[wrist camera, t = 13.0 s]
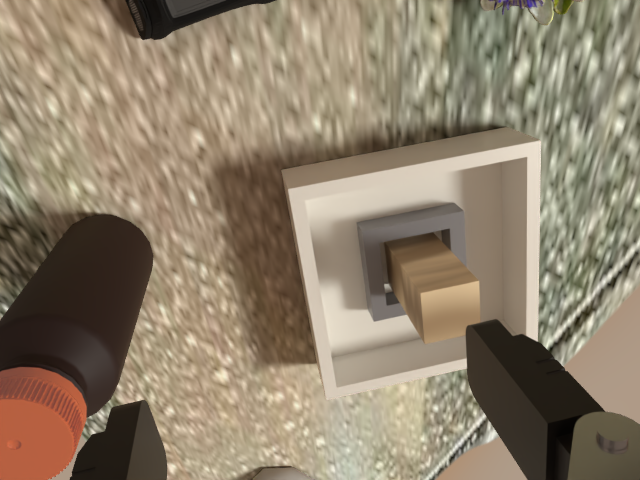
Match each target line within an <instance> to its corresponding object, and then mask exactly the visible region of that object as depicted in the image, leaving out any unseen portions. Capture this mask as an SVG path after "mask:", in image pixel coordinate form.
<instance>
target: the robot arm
mask: <svg viewBox="0 0 640 480" xmlns="http://www.w3.org/2000/svg"><path fill="white" fill-rule="evenodd" d="M466 356H467V375H468V381H469V385H470V388H471V391H472V393H473V395H474V397H475V399H476V401H477V402H478V404H479V405H480V407H481V408H482V410H483V412H484V413H485V415H486V416H487V418H488V419H489V421H490V422H491V424H492V425H493V427H494V429H495V430H496V432H497V433H498V435H499V436H500V438H501V439H502V441H503V442H504V444H505V445H506V447H507V449H508V450H509V452H510V453H511V454H512V456H513V458H514V459H515V461H516V462H517V464H518V465H519V467H520V469H521V470H522V472H523V473H524V475H525V476H526V478H527V479H528V480H640V424H638V423H637V422H635V421H634V420H632V419H630V418H628V417H625V416H623V415H620V414H616V413H612V412H605V411H604V410H603V408H602V407H601V406H600V405H599V404H598V403H597V402H596V401H595V400H594V399H593V398H592V397H591V396H590V395H589V394H588V393H587V392H586V390H585V389H584V388H583V387H582V386H581V385H580V384H579V383H578V382H577V381H576V380H575V379H574V378H573V377H572V376H571V375H570V374H569V372H568V371H565V368H564V367H563V366H562V365H561V364H560V363H559V362H558V361H557V360H555V359H554V357H553V356H552V354H551V353H550V352H549V351H548V350H547V349H546V348H545V347H544V346H543V345H542V344H541V343H539V342H537V341H535V340H533V339H531V338H530V337H528V336H526V335H524V334H519V335H515V336H512V335H511V333H510V332H509V331H508V330H507V329H506V328H505V327H504V326H503V324H502V323H501V322H500V321H499V320H497V319H493V320H489V321H485V322H480V323H476V324H472V325H468V326H467V327H466ZM166 479H167V460H166V453H165V449H164V446H163V443H162V440H161V438H160V435H159V432H158V429H157V427H156V424H155V421H154V419H153V416H152V413H151V410H150V408H149V405H148V403H147V402H146V401H145V400H141V401H137V402H133V403H128V404H124V405H120V406H115V407H113V408H112V409H111V411H110V414H109V418H108V422H107V426H106V429H105V432H101V433H96V434H92V435H91V437H90V438H89V439H88V441H87V442H86V443H85V445H84V446H83V447H82V449H81V450H80V451H79V453H78V454H77V458H76V461H75V464H74V467H73V471H72V477H70V480H166Z"/></svg>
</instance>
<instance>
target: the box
mask: <svg viewBox="0 0 640 480" xmlns="http://www.w3.org/2000/svg"><path fill="white" fill-rule="evenodd" d="M540 168H541V140H539V139H536V138H534V137H531V136H529V135H526V134H524V133H521V132H519V131H516V130H514V129H511V128H509V127H504V128H498V129H493V130H488V131H483V132H477V133H472V134H467V135H462V136H456V137H451V138H446V139H440V140H435V141H430V142H425V143H419V144H414V145H409V146H404V147H398V148H393V149H388V150H383V151H377V152H372V153H367V154H361V155H356V156H351V157H346V158H340V159H335V160H330V161H325V162H319V163H314V164H309V165H303V166H298V167H293V168H288V169H282V170H281V172H282V177H283V183H284V188H285V194H286V199H287V204H288V210H289V215H290V221H291V226H292V232H293V237H294V242H295V248H296V253H297V259H298V264H299V270H300V275H301V280H302V286H303V291H304V297H305V302H306V307H307V313H308V318H309V324H310V329H311V335H312V340H313V345H314V351H315V356H316V362H317V366H318V370H319V374H320V378H321V382H322V386H323V389H324V393H325V397H326V400H330V399H334V398H339V397H343V396H348V395H352V394H356V393H361V392H365V391H369V390H374V389H378V388H383V387H387V386H391V385H396V384H400V383H404V382H409V381H413V380H418V379H422V378H426V377H431V376H435V375H440V374H444V373H448V372H453V371H457V370H461V369H466V368H467V356H466V335H465V336H460V337H456V338H451V339H446V340H442V341H437V342H433V343H428V344H424V342H423V341H422V339H421V337H420V336H419V334H418V332H417V331H416V329H415V327H414V326H413V324H412V322H411V321H410V319H409V317H408V316H407V314H406V312H405V311H404V309H403V307H402V306H401V304H400V302H399V301H398V299H397V297H396V296H395V294H394V292H393V291H392V289H391V287H390V286H389V283H388V274H387V264H386V255H385V246H384V242H386V241H391V240H396V239H401V238H406V237H411V236H416V235H420V234H425V233H430V232H433V233H434V234H435V235H436V236H437V237H438V238H439V239H440V240H441V241H442V242H443V243H444V244H445V245H446V246H447V247H448V248H449V249H450V251H451V252H452V253H453V254H454V255H455V256H456V257H457V258H458V259H459V260H460V261H461V262H462V263H463V264H464V265H465V266H466V267H467V268H468V270H469V271H470V272H471V273H472V274H473V275H474V276H475V277H476V278H477V279H478V280H479V291H480V322H485V321H489V320H493V319H497V320H499V321H500V322H501V323H502V324H503V326H504V327H505V328H506V329H507V330H508V331H509V332H510V333H511V335H512V336H515V335H519V334H524V335H526V336H528V337H530V338H531V339H533V340H535V341H537V342H538V295H539V232H540Z"/></svg>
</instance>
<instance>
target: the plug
mask: <svg viewBox="0 0 640 480" xmlns="http://www.w3.org/2000/svg"><path fill="white" fill-rule="evenodd" d="M384 246H385V255H386V264H387V274H388V283H389V286H390V287H391V289H392V291H393V292H394V294H395V296H396V297H397V299H398V301H399V302H400V304H401V306H402V307H403V309H404V311H405V312H406V314H407V316H408V317H409V319H410V321H411V322H412V324H413V326H414V327H415V329H416V331H417V332H418V334H419V336H420V337H421V339H422V341H423V342H424V344H428V343H433V342H437V341H442V340H446V339H451V338H456V337H460V336H465V335H466V327H467V326H468V325H472V324H476V323H480V291H479V280H478V279H477V278H476V277H475V276H474V275H473V274H472V273H471V272H470V271H469V270H468V268H467V267H466V266H465V265H464V264H463V263H462V262H461V261H460V260H459V259H458V258H457V257H456V256H455V255H454V254H453V253H452V252H451V251H450V249H449V248H448V247H447V246H446V245H445V244H444V243H443V242H442V241H441V240H440V239H439V238H438V237H437V236H436V235H435V234H434V233H433V232H430V233H425V234H420V235H416V236H411V237H406V238H401V239H396V240H391V241H386V242H384Z"/></svg>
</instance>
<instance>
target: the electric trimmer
mask: <svg viewBox="0 0 640 480" xmlns="http://www.w3.org/2000/svg"><path fill="white" fill-rule="evenodd" d="M273 1H275V0H126V3H127V5H128V8H129V10H130V13H131V15H132V18H133V20H134V22H135V25H136V27H137V30H138V32H139V35H140V37H141V39H142V40H145V39H149V38H152V39H154V40H157V39H162V38H164V37H166V36H167V35H169V34H170V33H171V32H173V31H175V30H177V29H180V28H183V27H185V26H188V25H191V24H193V23H196V22H199V21H201V20H204V19H207V18H209V17H212V16H215V15H218V14H221V13H223V12H226V11H229V10H232V9H236V8H239V7H243V6H246V5H251V4H266V3H270V2H273Z"/></svg>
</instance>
